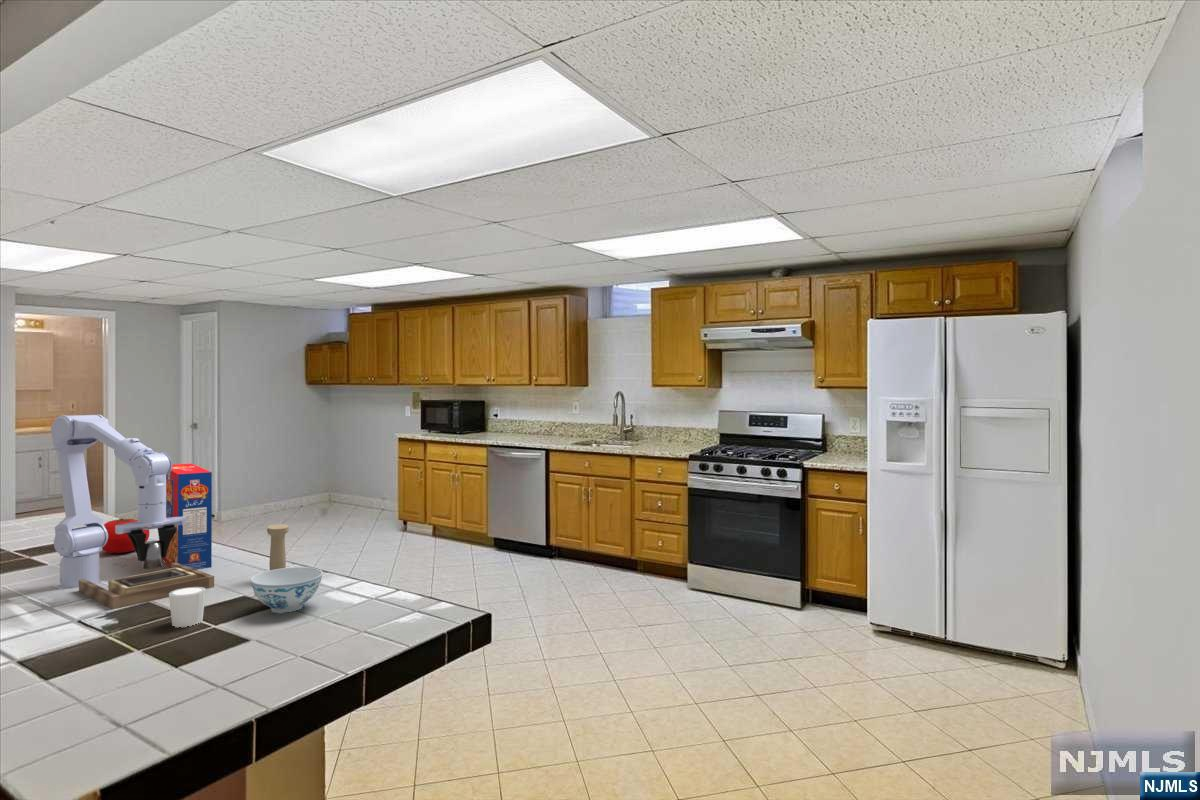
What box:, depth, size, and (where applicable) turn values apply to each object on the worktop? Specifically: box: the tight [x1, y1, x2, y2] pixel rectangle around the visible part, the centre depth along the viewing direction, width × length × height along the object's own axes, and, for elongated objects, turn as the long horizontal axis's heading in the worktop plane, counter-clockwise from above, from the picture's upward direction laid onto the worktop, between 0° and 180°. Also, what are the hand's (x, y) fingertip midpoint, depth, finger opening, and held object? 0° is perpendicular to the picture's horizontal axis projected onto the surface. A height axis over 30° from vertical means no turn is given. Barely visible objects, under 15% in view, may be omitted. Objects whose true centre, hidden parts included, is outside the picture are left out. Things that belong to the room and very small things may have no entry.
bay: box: [78, 562, 215, 610], centre depth 163 cm, size 22×21×4 cm
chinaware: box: [250, 566, 323, 614], centre depth 153 cm, size 15×15×8 cm
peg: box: [141, 540, 163, 570], centre depth 160 cm, size 4×4×6 cm
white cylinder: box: [168, 587, 207, 628], centre depth 143 cm, size 7×7×7 cm
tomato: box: [102, 518, 150, 554], centre depth 205 cm, size 14×13×10 cm
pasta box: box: [162, 463, 213, 570], centre depth 191 cm, size 28×8×28 cm, turn 42°
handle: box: [266, 523, 289, 571], centre depth 173 cm, size 5×6×15 cm
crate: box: [107, 567, 197, 595], centre depth 161 cm, size 11×15×4 cm
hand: (152, 558), depth 160 cm, fingers closed on peg, 4 cm apart
